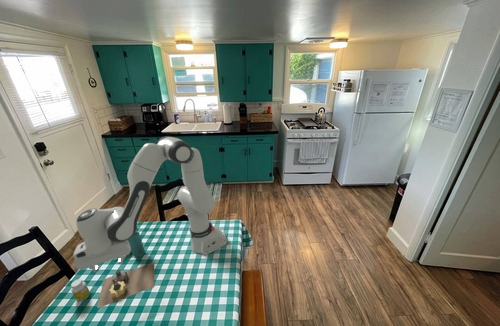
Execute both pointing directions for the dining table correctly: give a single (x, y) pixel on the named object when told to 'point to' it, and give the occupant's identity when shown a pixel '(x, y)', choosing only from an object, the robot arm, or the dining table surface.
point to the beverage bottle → (136, 245)
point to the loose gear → (118, 292)
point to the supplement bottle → (80, 290)
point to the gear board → (127, 283)
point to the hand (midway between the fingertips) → (109, 266)
